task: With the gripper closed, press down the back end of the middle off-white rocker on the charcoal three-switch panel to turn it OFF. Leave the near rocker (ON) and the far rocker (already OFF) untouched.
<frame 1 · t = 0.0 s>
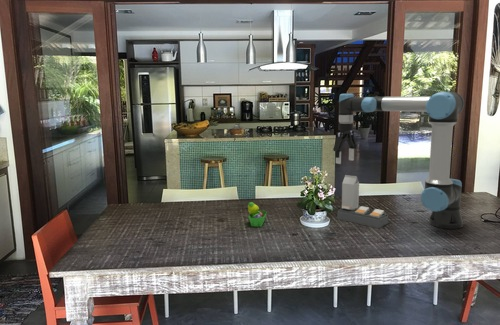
hand: (344, 162, 218), 28 cm above the table, tool pointing down, fingers open, 13 cm apart
far rocker: (348, 207, 211), point 6 cm above the table, hinge at 15.0°
near rocker: (376, 213, 200), point 6 cm above the table, hinge at -15.0°
switch panel: (362, 221, 206), on the table
middle rocker: (362, 210, 205), point 6 cm above the table, hinge at -15.0°
milk carton: (350, 208, 230), on the table
chick basket toy: (256, 224, 205), on the table
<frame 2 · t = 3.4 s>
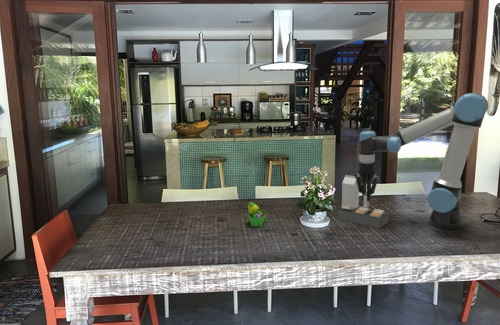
hand: (366, 206, 208), 7 cm above the table, tool pointing down, fingers closed
middle rocker: (362, 210, 205), point 6 cm above the table, hinge at -7.3°, touching gripper
everything else where it was.
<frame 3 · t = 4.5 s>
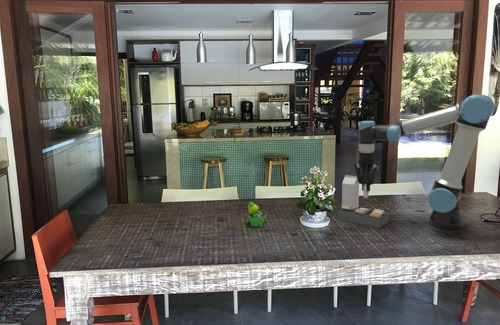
hand: (365, 197, 206), 12 cm above the table, tool pointing down, fingers closed
middle rocker: (362, 210, 205), point 6 cm above the table, hinge at 2.6°
everything else where it was.
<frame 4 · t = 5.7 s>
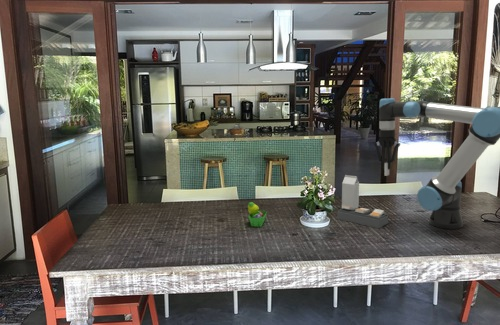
hand: (386, 175, 206), 23 cm above the table, tool pointing down, fingers closed
middle rocker: (362, 210, 205), point 6 cm above the table, hinge at 5.5°
everything else where it was.
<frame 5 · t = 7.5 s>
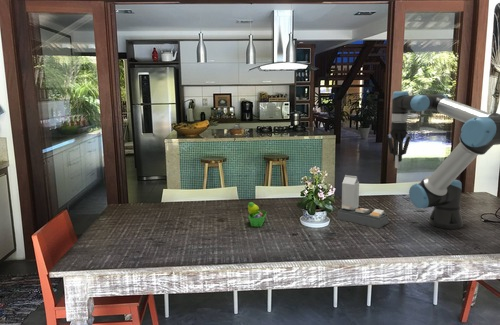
hand: (397, 167, 208), 26 cm above the table, tool pointing down, fingers closed
middle rocker: (362, 210, 205), point 6 cm above the table, hinge at 7.5°
everything else where it was.
at the end: middle rocker at +8° (first picture: -15°); near rocker at -15° (first picture: -15°); far rocker at +15° (first picture: +15°) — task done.
